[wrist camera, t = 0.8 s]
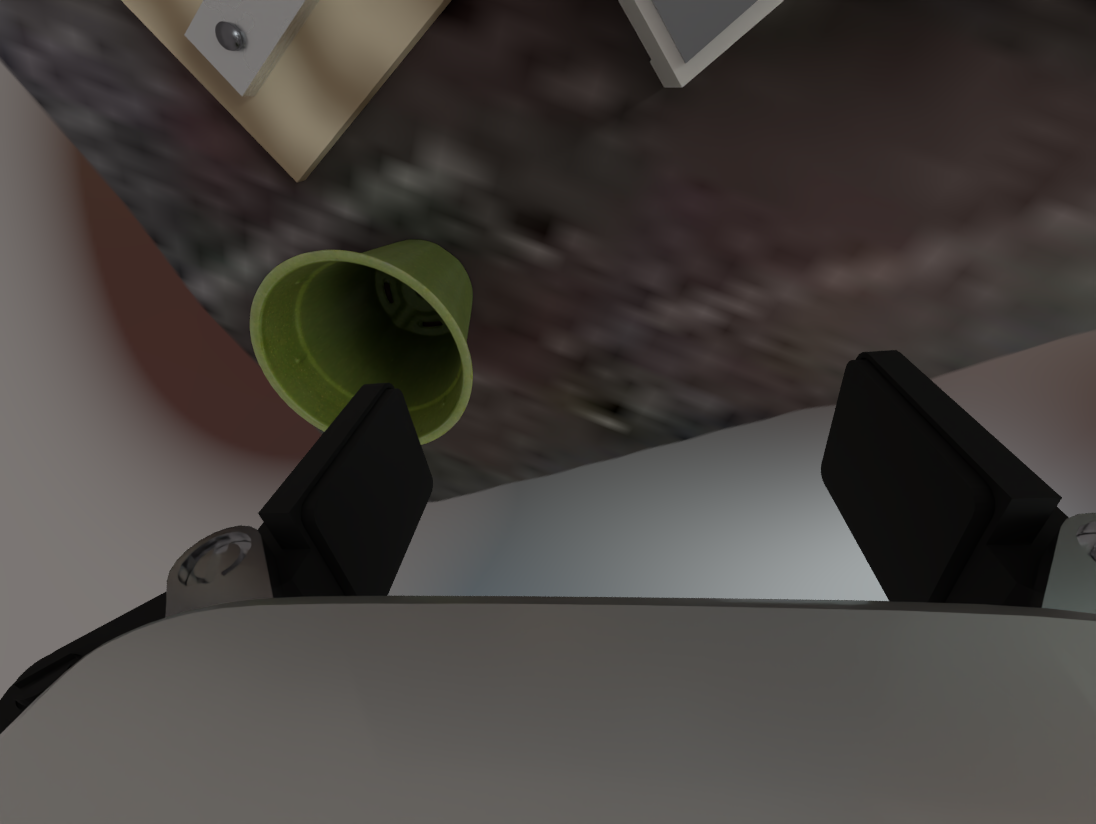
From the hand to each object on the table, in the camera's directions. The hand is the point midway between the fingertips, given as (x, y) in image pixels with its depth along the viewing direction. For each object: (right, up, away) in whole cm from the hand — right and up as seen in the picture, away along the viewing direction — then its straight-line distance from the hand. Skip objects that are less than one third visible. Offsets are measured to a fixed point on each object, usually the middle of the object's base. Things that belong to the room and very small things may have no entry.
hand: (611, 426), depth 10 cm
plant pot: (-10, +9, +24) cm, 28 cm away
